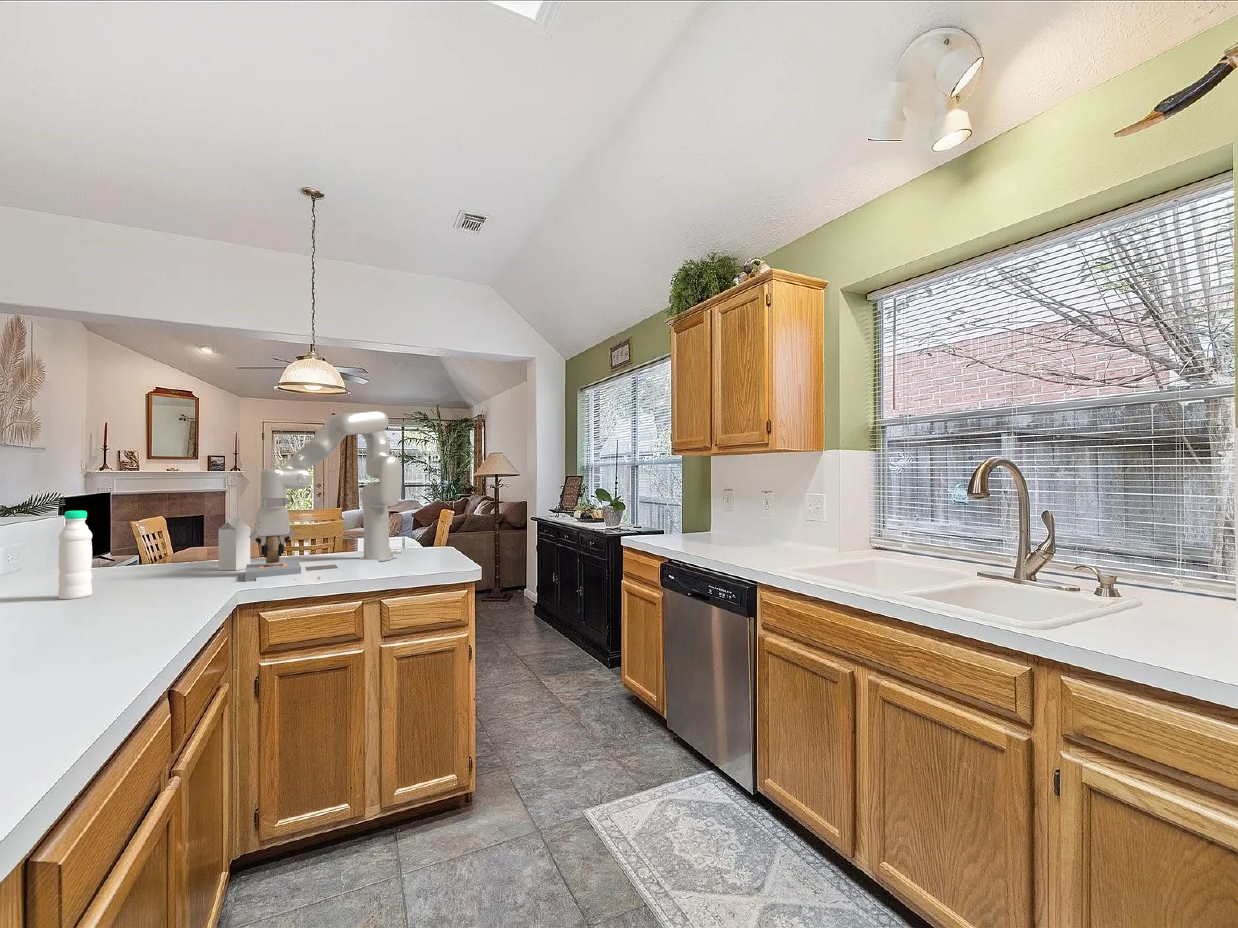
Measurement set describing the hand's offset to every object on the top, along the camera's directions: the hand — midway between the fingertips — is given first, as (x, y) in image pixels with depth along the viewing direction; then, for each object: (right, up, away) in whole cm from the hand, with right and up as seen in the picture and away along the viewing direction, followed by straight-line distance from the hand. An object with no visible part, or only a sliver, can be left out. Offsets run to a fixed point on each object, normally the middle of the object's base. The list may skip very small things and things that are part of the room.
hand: (272, 555), depth 199 cm
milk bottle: (-36, -7, -34) cm, 50 cm away
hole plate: (0, -7, 0) cm, 7 cm away
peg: (0, -2, 0) cm, 2 cm away
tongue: (+13, -7, +8) cm, 17 cm away
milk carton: (-22, -7, +13) cm, 27 cm away
